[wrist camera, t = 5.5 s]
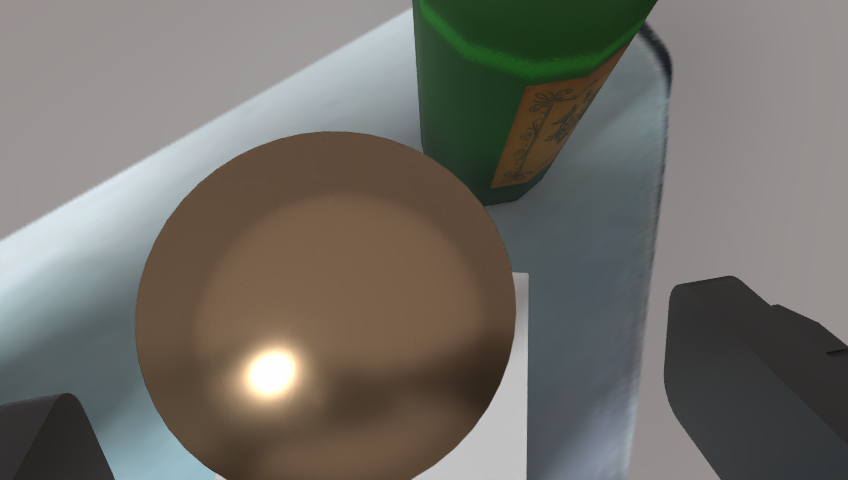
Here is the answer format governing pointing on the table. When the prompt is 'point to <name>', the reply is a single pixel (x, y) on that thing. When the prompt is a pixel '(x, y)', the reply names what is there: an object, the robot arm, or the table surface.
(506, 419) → the white box
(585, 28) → the bottle
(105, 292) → the table surface
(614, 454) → the table surface
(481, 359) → the brown round knob
